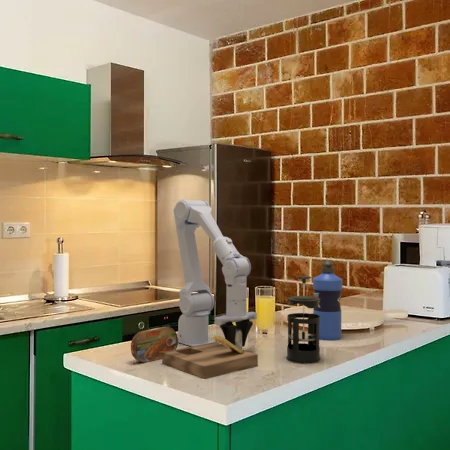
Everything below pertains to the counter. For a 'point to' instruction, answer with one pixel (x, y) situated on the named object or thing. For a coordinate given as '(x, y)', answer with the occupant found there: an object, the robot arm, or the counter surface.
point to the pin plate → (209, 360)
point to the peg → (238, 338)
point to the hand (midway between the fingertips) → (236, 347)
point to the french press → (301, 350)
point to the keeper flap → (228, 344)
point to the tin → (153, 343)
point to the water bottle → (328, 302)
